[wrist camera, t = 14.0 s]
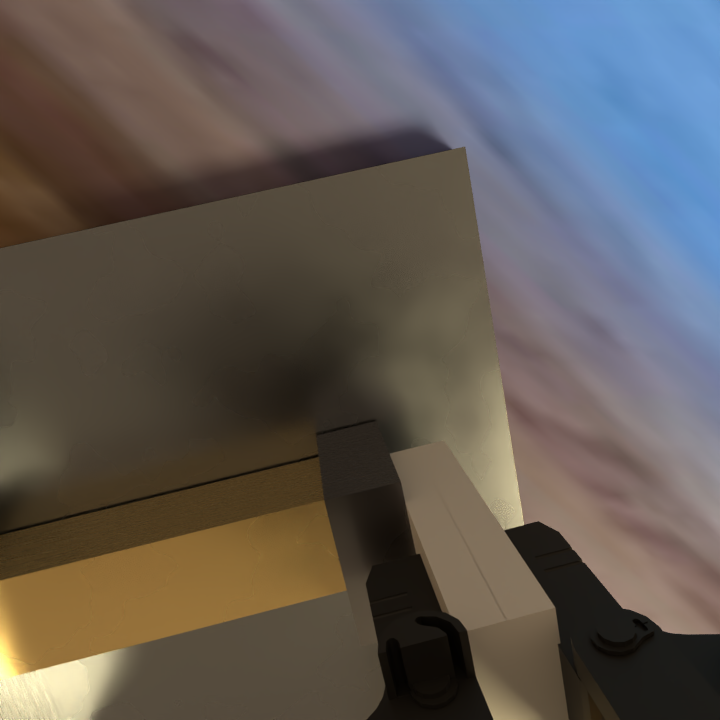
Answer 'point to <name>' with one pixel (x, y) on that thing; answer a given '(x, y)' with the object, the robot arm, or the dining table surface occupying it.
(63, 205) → the dining table surface
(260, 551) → the pin
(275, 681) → the dock
